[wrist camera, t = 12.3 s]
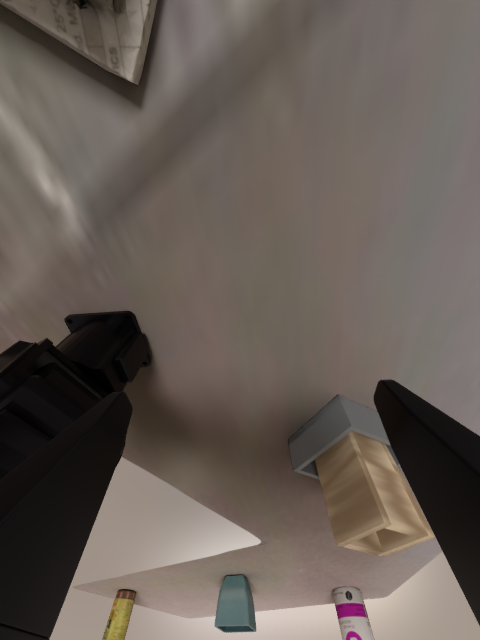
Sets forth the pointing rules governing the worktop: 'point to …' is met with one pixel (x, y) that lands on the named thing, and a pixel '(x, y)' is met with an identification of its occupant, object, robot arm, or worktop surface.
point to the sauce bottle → (119, 615)
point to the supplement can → (352, 614)
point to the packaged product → (96, 29)
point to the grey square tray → (333, 432)
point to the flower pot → (235, 606)
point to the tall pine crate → (369, 498)
